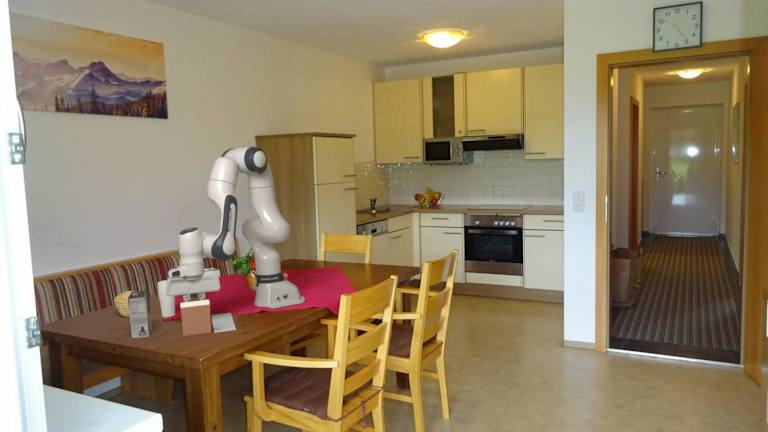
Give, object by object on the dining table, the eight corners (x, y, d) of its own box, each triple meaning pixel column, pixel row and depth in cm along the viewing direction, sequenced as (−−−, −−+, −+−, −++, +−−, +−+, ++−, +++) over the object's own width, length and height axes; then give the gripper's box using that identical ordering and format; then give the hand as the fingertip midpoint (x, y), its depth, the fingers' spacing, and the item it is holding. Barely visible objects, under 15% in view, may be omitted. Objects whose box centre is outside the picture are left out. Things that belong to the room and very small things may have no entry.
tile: (210, 328, 215) (209, 299, 208) (211, 333, 213) (209, 304, 206) (183, 332, 212) (180, 302, 205) (183, 337, 209) (180, 308, 203)
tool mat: (230, 313, 239) (230, 312, 239) (236, 331, 214) (236, 329, 214) (211, 316, 236) (211, 315, 236) (214, 334, 212) (214, 332, 212)
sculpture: (111, 317, 240) (108, 293, 239) (134, 310, 251) (132, 286, 250) (130, 320, 236) (127, 295, 234) (152, 312, 246) (150, 288, 245)
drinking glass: (171, 318, 235) (168, 283, 233) (156, 318, 236) (153, 283, 235) (180, 314, 241) (177, 280, 240) (166, 313, 243) (163, 279, 241)
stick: (198, 301, 232) (197, 292, 231) (199, 314, 211) (198, 303, 211) (190, 302, 231) (190, 292, 230) (191, 315, 210) (190, 304, 210)
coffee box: (134, 331, 219) (131, 291, 217) (152, 329, 221) (148, 289, 219) (131, 339, 210) (127, 297, 208) (149, 336, 212) (146, 295, 210)
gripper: (219, 265, 226) (221, 299, 227) (164, 270, 219) (167, 305, 220) (220, 268, 220) (222, 302, 221) (164, 273, 213) (167, 309, 215)
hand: (194, 304), depth 221 cm, fingers closed on stick, 3 cm apart
